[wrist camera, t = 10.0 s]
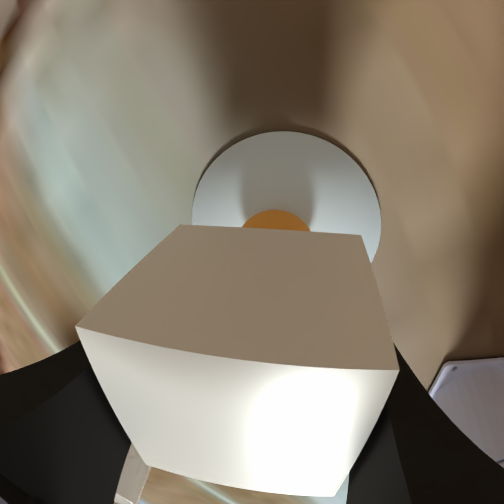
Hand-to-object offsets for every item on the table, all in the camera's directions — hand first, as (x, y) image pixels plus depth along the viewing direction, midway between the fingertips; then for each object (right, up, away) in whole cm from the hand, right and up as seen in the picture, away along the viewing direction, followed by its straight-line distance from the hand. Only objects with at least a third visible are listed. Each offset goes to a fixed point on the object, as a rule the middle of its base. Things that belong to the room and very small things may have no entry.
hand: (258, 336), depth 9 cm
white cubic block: (0, +1, +2) cm, 2 cm away
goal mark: (+1, +4, +7) cm, 8 cm away
